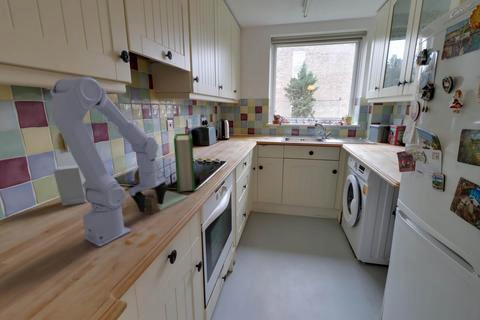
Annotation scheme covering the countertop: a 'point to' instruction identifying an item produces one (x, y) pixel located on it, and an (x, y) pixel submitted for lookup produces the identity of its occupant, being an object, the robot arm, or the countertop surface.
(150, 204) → the walnut block
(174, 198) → the tray
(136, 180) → the tin
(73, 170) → the skincare box
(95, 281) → the countertop surface
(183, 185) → the hardback book
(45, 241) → the countertop surface
